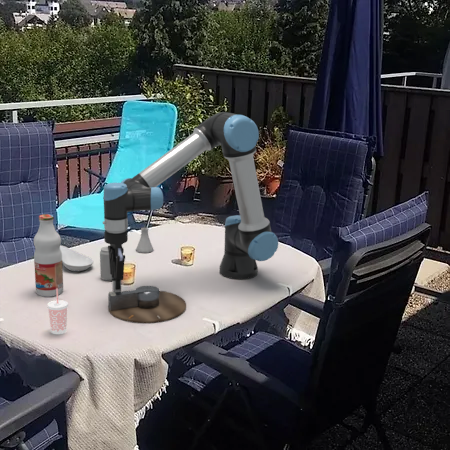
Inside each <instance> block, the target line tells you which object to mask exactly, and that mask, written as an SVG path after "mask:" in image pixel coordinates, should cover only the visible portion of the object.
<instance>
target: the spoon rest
mask: <svg viewBox="0 0 450 450" xmlns="http://www.w3.org/2000/svg"><path fill="white" fill-rule="evenodd" d="M60 250H61V253H62V265H63V266H64V267H65V268H66V269H67V270H69V271H71V272H83V271H86V270H88V269H89V268H90V267H92V266H93V264H94V259H93V258H92V257H90V256H88V255H86V254H83V253H80V252H79V251H76V250H74V249H72V248H69V247H67V246H65V245H61V244H60Z"/></svg>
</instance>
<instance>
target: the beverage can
mask: <svg viewBox="0 0 450 450" xmlns="http://www.w3.org/2000/svg"><path fill="white" fill-rule="evenodd" d="M99 265H100V266H99V267H100V269H99V270H100V273H99V274H100V279H101V280H102V281H105V282H111V281H112V279H113V278H112V275H111V274H110V263H109V251H108V246H104V247H101V248H100V251H99Z"/></svg>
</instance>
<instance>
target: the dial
mask: <svg viewBox="0 0 450 450" xmlns="http://www.w3.org/2000/svg"><path fill="white" fill-rule="evenodd" d="M159 291H160V288H159V287H157V286H154V285H142V286H139V287H137V288H136V289H131V290H126V291H124V290H123V291H121V292H116V293H115V292H114V291H108V296H107V297H108V305H109V309H110V310H117V309H124V308H131V307H140V308H154V307H157V306H158V305H159ZM109 309H108V310H109Z"/></svg>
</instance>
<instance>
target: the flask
mask: <svg viewBox="0 0 450 450" xmlns="http://www.w3.org/2000/svg"><path fill="white" fill-rule="evenodd" d="M149 229H150V228H148V227H141V228H140V231H141V234H140V237H139V241H138V244H137V246H136V249H135V251H136V252H138V253H141V254H149V253H152V252H153V251H154V247H153V244H152V243H151V240H150V237H149Z"/></svg>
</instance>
